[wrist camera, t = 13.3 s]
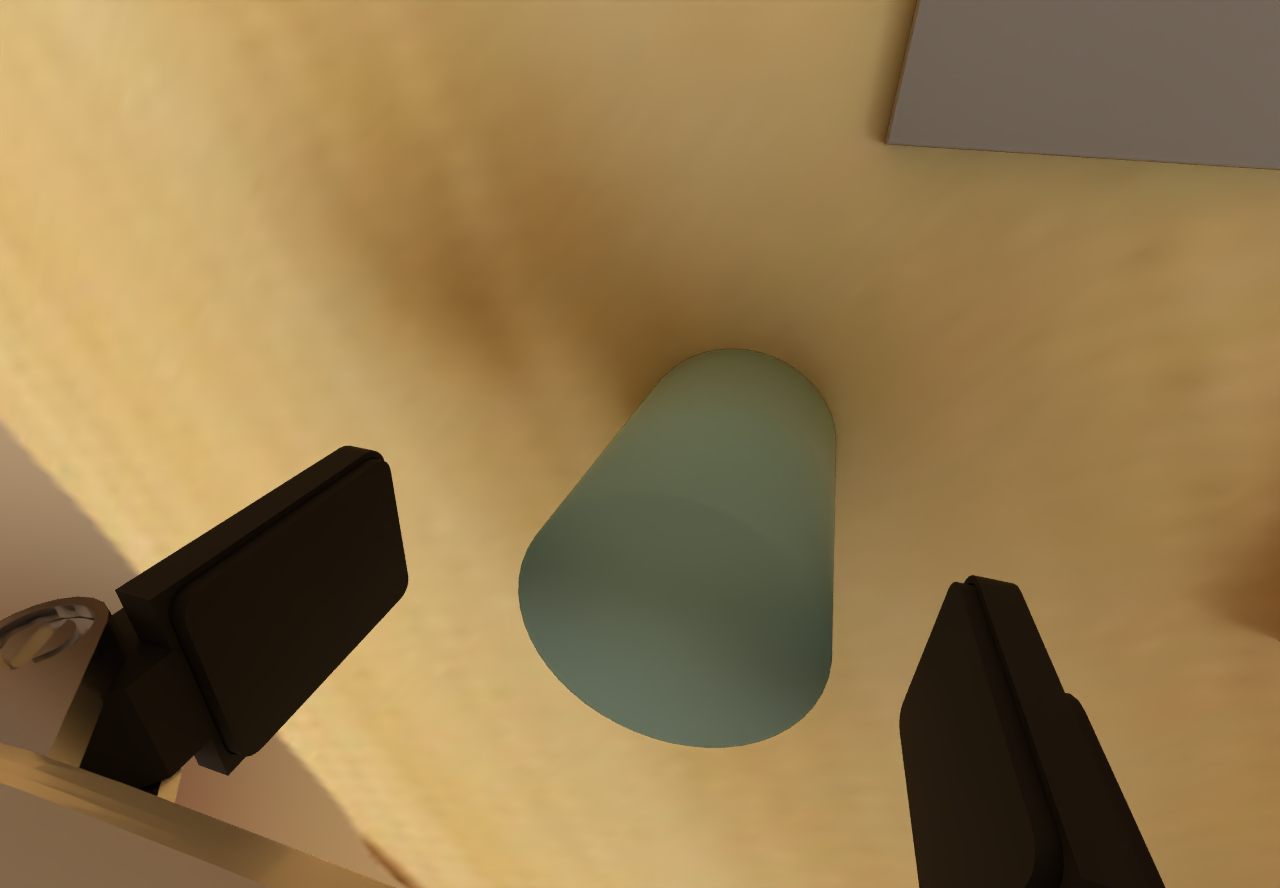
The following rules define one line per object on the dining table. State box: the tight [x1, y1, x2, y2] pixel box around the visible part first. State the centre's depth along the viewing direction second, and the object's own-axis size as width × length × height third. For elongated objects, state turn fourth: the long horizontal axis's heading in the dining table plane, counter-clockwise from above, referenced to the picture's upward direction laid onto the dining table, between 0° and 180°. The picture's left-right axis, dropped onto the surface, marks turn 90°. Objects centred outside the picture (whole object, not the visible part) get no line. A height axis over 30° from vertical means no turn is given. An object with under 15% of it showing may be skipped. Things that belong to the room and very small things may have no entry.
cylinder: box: [518, 349, 836, 748], centre depth 12 cm, size 5×5×7 cm
